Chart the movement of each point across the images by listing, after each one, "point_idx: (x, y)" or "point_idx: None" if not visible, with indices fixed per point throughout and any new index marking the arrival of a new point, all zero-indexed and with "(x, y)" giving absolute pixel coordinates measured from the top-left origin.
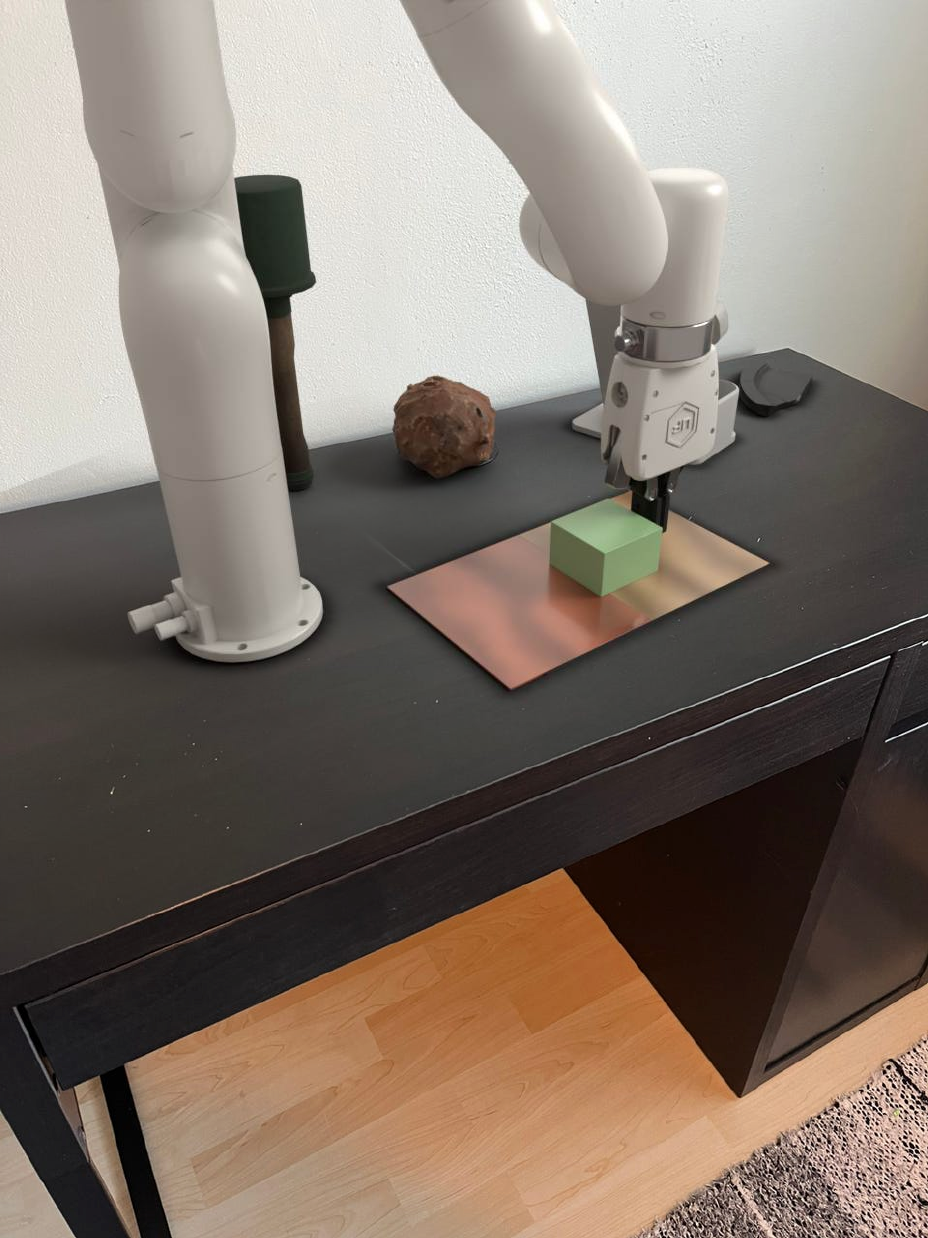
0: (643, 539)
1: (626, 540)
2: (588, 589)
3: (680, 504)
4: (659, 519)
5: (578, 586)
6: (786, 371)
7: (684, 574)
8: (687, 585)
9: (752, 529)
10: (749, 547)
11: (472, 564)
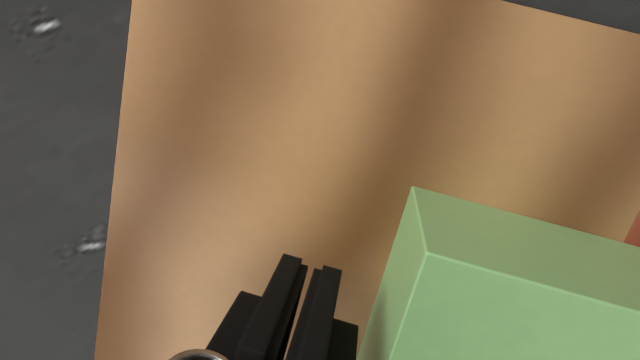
0: (547, 278)
1: (637, 331)
2: None
3: (50, 298)
4: (314, 298)
5: None
6: None
7: (380, 108)
8: (437, 66)
9: (11, 72)
10: (100, 26)
11: None
